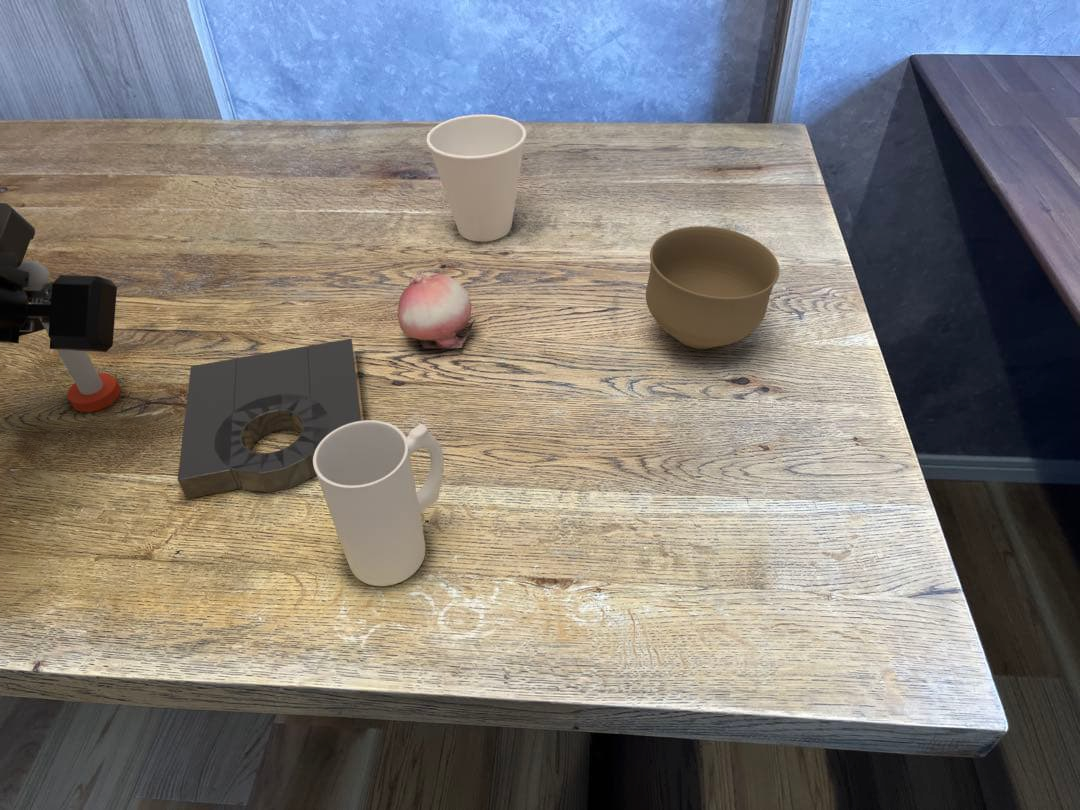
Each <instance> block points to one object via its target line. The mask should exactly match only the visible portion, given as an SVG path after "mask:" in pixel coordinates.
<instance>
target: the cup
mask: <svg viewBox="0 0 1080 810" xmlns="http://www.w3.org/2000/svg"><path fill="white" fill-rule="evenodd" d="M526 139H527V129H526V128H525V127H524V126H523V124H522V123H520V122H518V121H517V120H515V119H513V118H510V117H507V116H502V115H497V114H487V113H486V114H469V115H462V116H456V117H454V118H450V119H447V120H444V121H443V122H440V123H438V124H436V125H435V126H434V127H432V128H431V129H430V131H429V132H428V133H427V135H426V139H425V142H426V146H427V147H428V149H429V151H430V154H431V157H432V161H433V163H434V166H435V168H436V171H437V174H438V177H439V179H440V182H441V185H442V188H443V191H444V193H445V198H446V200H447V203H448V205H449V208H450V211H451V214H452V217H453V220H454V222H455V225H456V228H457V231H458V234H459V235H460V236H461V237H462V238H464V239H466V240H469V241H472V242H477V243H479V242H480V243H483V242H484V243H485V242H492V241H497V240H499V239H502V238H504V237H505V236H507V235H508V234H509V233H510V232H511V230H512V225H513V219H514V213H515V207H516V206H515V205H516V200H517V195H518V187H519V181H520V177H521V176H520V175H521V169H522V162H523V157H524V156H523V155H524V149H525V144H526Z"/></svg>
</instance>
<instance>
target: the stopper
mask: <svg viewBox="0 0 1080 810" xmlns="http://www.w3.org/2000/svg"><path fill="white" fill-rule="evenodd" d="M17 269H19V270H23V271H26V272H29V285H28V287H23V290H34V291H40V290H41V289H42V287H43V286H44V285H45V284H47V283H51V282H50V281H51V275H50V271H49V270H48V268H47V267H46V266H45V265H44V264H42V263H41V262H40V261H39V262H38V261H36V260H25V261H24V260H23V261H22V263H21V265H20V266H19V267H18V268H17ZM45 301H47V300H45ZM30 304H43V303H40V302H39V303H36V302H35V303H33V302H31V303H30ZM39 319H40V321H41V322H42V318H39ZM42 324H43V323H42ZM43 326H44V328H45V329H44V331H46V333H47V335H48V334H49V325H47V324H43ZM56 351H57V354H58V355H59V357H60V359H61V360H62V362H63V364H64V366H65V367H66V369H67V371H68V373H69V375H70V377H71V379H72V380H73V382H74V383H73V384H72V385H71V386H70V387H69V389H68V390H67V396H66V397H67V399H68V401H69V402H70V404H71V406H72V407H73V409H75V411H78V412H82V413H93V412H97V411H101V410H103V409H105V408H107V407H109V406H110V405H112V404H114V403H115V401H116V400H117V399H118V398H119V397H120V395H121V387H120V384H119V383H118V381H117V379H116V377H115V376H113V375H112V374H109V373H106V372H105V373H101V372H100V373H98V371H97V369H96V367H95V365H94V363H93V362H92V359H91V358H90V356H89V354H88V351H76V350H61V349H56Z"/></svg>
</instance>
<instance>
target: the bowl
mask: <svg viewBox="0 0 1080 810" xmlns="http://www.w3.org/2000/svg"><path fill="white" fill-rule="evenodd" d="M649 261H650V267H649V274H648V279H647V284H646V288H645V289H646V290H645V301H646V306H647V308H648V311H649V312H650V315H651V316H652V318H653V319H654V321H655V322H656V323H657V324H658V325H659V327H660V328H661V329H663V330H664V332H666V333H667V334H668V335H669V336H672V338H674V339H676V340H677V341H678V342H679V343H680V344H682V345H684V346H686V347H688V348H689V347H690V348H691V349H692V348H693V349H695V350H708V349H714V348H716V347H722V346H727V345H731V344H733V343H736V342H738V341H740V340H742V339H745V338H746V337H747V336H750V335H751V334H752V333H754V331H756V330H757V329H758V328H759V327H760V325H761V324H762V322H763V321H764V318H765V316H766V313H767V309H768V305H769V300H770V297H771V294H772V292H773V288H774V287H775V285H776V284H777V282H778V280H779V278H780V277H779V276H780V270H781V269H780V265H779V262H778V260H777V258H776V256H775V255H774V254H773V253H772V251H771V250H770V249H769V248H768V247H766V246H765V245H764V244H763V243H761V242H759V241H758V240H756V239H754V238H753V237H750V236H748V235H746V234H744V233H741V232H738V231H736V230H731V229H729V228H728V229H726V228H724V227H723V228H722V227H716V226H707V225H705V226H704V225H699V226H698V225H697V226H687V227H681V228H676V229H673V230H671V231H668V232H665V233H664V234H662V235H661V236H659V237H658V238H657V239H656V240H655V241H654V242H653V244H652V245H651V248H650V251H649Z"/></svg>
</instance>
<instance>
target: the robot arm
mask: <svg viewBox="0 0 1080 810" xmlns="http://www.w3.org/2000/svg"><path fill="white" fill-rule="evenodd" d="M35 234H36V227H34V226H33V225H32V224H31V223H30V222H28V220H26V218H25V217H23V216H22V215H21V214H20V213H19V212H17V210H15V209H14V207H12V206H11V205H10V204H8V203H5V202H0V344H1V343H2V344H3V343H5V344H19V343H20V337H22V336H25V335H30V334H34V333H38V332H41V331H45V328H44V326H43V324H47V325H49V334H48V333H47V335H48V338H49V349H50V350H57V349H61V350H76V351H86V352H96V353H98V352H99V353H107V352H108V351H109V350H110V349H111V348H112V347H113V345H114V334H115V333H114V332H115V319H116V305H117V292H118V286H117V285H116V284H115V283H114V281H113V280H111V279H108V278H104V277H102V276H98V275H75V274H74V275H73V274H72V275H70V274H69V275H68V274H60V275H59V276H58V277H57V278H56V279H55V280H54V281H53V282H50V283H47V284H45V285H44V286H43V287H42V289H41V290H40V291H34V290H23V287H28V285H29V272H26V271H23V270H19V269H17V268H18V267H19V266H20V265H21V263H22V262H24V259H25V256H26V253H27V251H28V249H29V246H30V243H31V241H32V240H34V237H35ZM45 300H47V301H45ZM31 302H33V303H35V302H36V303H39V302H40V303H43V304H31ZM39 318H42V322H41V321H40V319H39ZM42 323H43V324H42Z"/></svg>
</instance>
